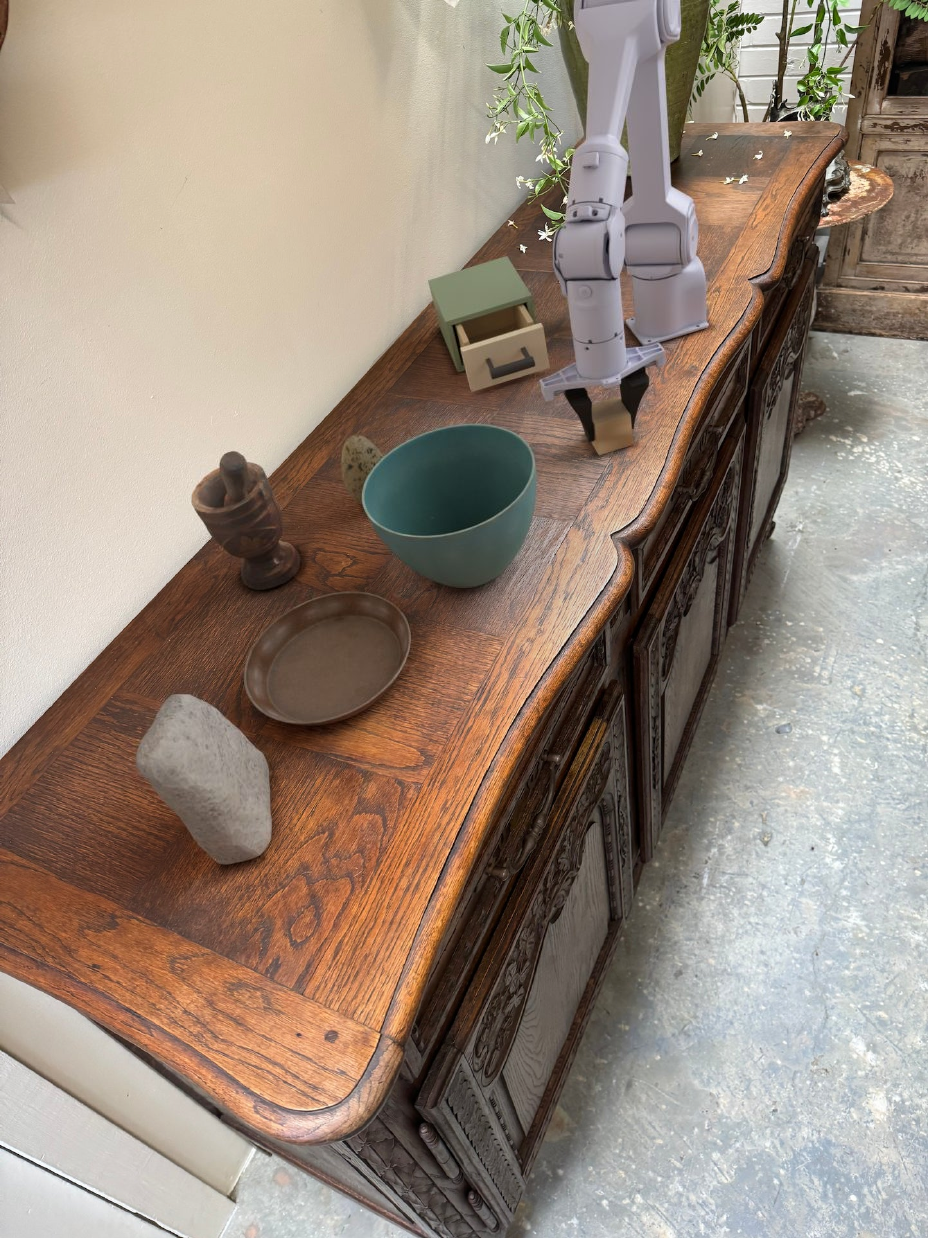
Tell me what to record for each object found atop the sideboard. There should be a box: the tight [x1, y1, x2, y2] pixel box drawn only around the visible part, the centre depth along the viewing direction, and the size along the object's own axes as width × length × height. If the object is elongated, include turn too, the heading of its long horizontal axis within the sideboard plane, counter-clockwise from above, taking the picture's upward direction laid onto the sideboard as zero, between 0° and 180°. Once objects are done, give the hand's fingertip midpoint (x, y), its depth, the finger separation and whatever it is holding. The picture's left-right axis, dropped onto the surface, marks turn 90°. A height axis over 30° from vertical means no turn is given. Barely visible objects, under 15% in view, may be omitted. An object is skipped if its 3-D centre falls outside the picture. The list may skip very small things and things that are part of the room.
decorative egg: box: [340, 434, 385, 507], centre depth 102 cm, size 6×6×10 cm
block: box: [590, 396, 634, 456], centre depth 102 cm, size 4×4×4 cm
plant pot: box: [362, 423, 538, 589], centre depth 90 cm, size 18×18×12 cm
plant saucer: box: [243, 591, 412, 726], centre depth 86 cm, size 18×18×3 cm
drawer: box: [452, 303, 550, 393], centre depth 117 cm, size 18×11×6 cm, turn 12°
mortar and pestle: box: [191, 450, 301, 591], centre depth 93 cm, size 12×9×20 cm
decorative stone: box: [134, 693, 273, 865], centre depth 72 cm, size 11×6×15 cm, turn 5°
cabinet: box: [427, 255, 537, 373], centre depth 125 cm, size 15×13×8 cm
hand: (608, 431), depth 103 cm, fingers closed on block, 4 cm apart
